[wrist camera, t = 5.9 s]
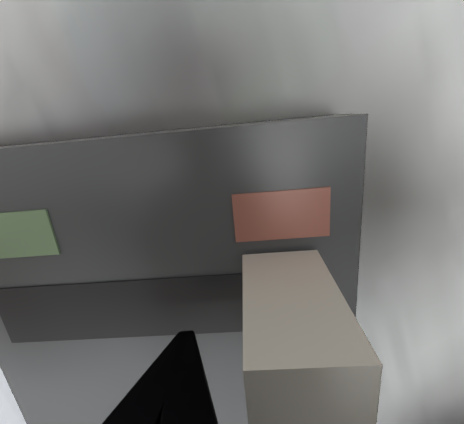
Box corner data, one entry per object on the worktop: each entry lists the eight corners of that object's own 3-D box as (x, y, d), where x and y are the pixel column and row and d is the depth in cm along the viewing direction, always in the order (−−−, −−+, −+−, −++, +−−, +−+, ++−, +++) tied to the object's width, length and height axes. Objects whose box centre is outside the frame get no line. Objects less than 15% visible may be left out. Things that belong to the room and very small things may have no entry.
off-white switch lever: (317, 249, 9) (382, 365, 5) (316, 348, 10) (367, 507, 6) (242, 254, 9) (243, 370, 5) (250, 350, 10) (256, 507, 6)
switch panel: (334, 114, 11) (369, 113, 8) (324, 501, 18) (340, 575, 15) (-13, 147, 11) (-100, 157, 9) (116, 504, 19) (94, 574, 16)
